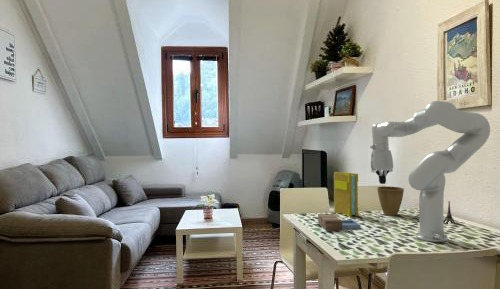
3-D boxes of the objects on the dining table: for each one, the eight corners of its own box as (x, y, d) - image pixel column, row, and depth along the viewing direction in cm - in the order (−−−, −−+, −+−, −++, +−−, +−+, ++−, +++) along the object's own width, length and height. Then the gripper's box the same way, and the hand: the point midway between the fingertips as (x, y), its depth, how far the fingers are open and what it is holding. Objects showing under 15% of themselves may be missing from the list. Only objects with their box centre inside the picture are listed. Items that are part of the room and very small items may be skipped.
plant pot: (372, 213, 206) (371, 187, 206) (391, 211, 211) (390, 185, 211) (390, 217, 192) (389, 190, 192) (409, 215, 197) (409, 188, 197)
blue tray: (360, 228, 167) (360, 224, 167) (328, 229, 167) (328, 225, 167) (353, 223, 178) (353, 220, 178) (323, 224, 178) (323, 220, 178)
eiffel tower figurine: (469, 225, 175) (469, 200, 175) (462, 228, 169) (461, 202, 169) (439, 220, 187) (438, 196, 187) (431, 223, 181) (430, 198, 181)
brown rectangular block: (342, 230, 165) (342, 220, 165) (325, 230, 164) (325, 221, 164) (333, 222, 181) (333, 214, 181) (318, 223, 181) (318, 214, 181)
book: (358, 216, 197) (358, 173, 197) (349, 217, 195) (348, 174, 195) (340, 211, 213) (340, 171, 213) (331, 211, 211) (331, 172, 211)
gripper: (369, 148, 167) (371, 184, 166) (398, 147, 168) (400, 183, 167) (363, 148, 175) (365, 183, 174) (391, 147, 176) (393, 182, 175)
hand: (382, 183), depth 171 cm, fingers closed
